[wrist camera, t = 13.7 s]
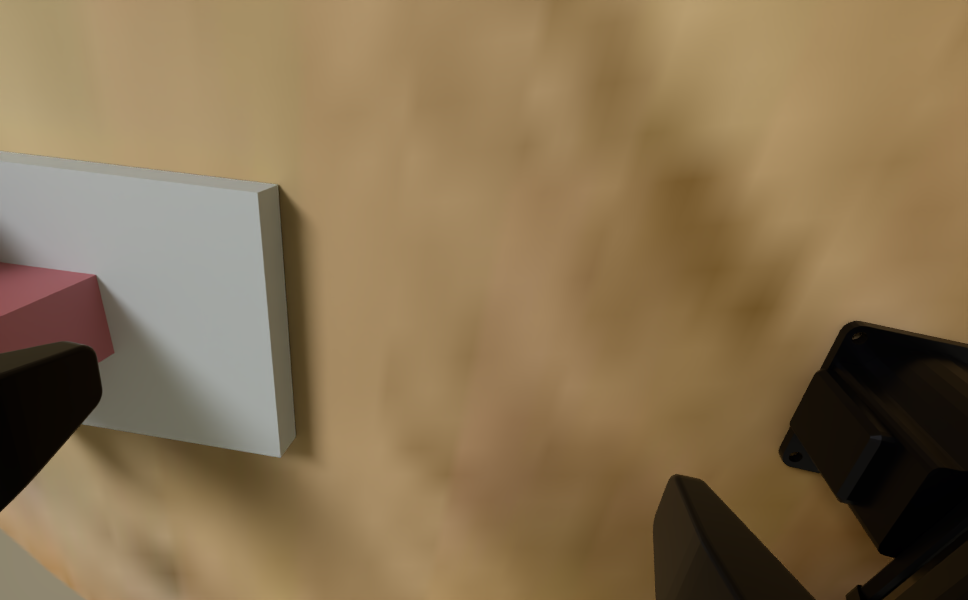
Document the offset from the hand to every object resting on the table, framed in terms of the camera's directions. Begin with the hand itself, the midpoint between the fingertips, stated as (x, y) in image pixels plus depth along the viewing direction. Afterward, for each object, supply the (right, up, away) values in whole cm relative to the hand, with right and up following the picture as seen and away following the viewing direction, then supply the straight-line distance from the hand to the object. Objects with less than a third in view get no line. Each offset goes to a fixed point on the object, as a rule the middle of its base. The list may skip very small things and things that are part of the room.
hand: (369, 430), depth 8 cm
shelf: (-14, +2, +15) cm, 20 cm away
